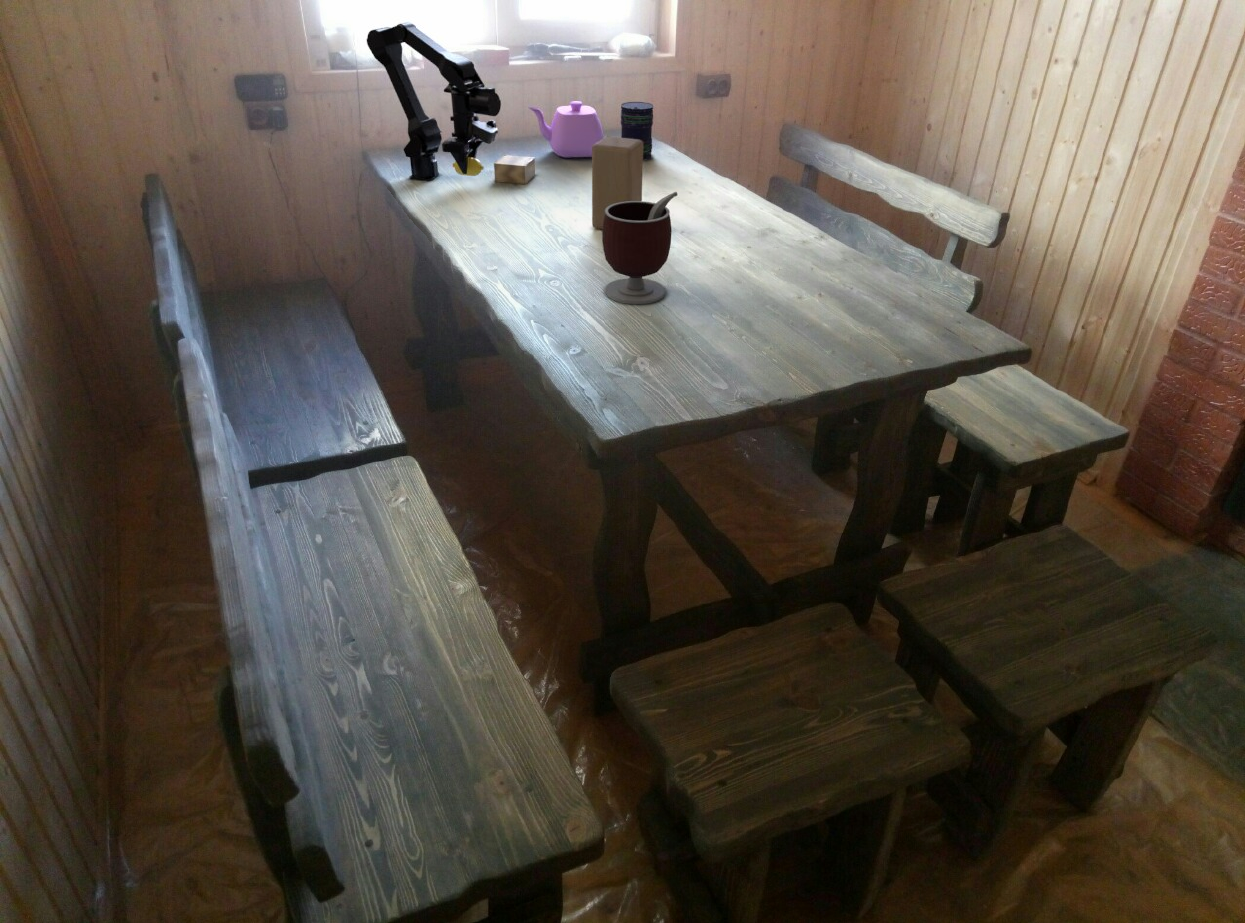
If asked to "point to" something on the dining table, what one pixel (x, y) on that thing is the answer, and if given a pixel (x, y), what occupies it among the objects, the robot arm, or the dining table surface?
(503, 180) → the maple block
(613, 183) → the block
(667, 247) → the mate gourd
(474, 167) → the lemon
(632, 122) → the storage jar
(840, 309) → the dining table surface
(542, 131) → the teapot
